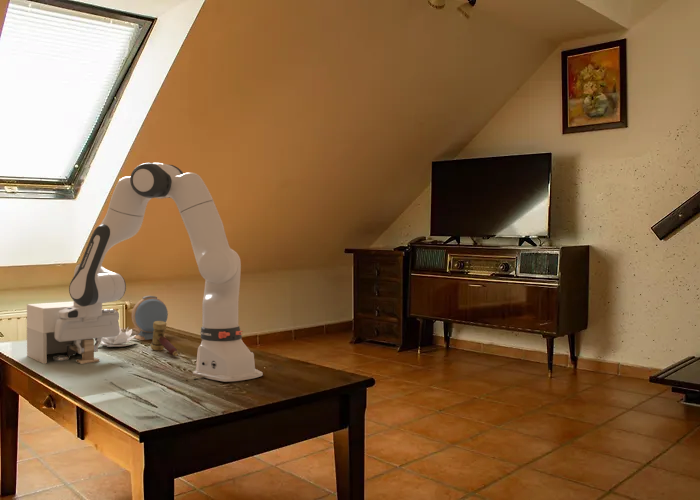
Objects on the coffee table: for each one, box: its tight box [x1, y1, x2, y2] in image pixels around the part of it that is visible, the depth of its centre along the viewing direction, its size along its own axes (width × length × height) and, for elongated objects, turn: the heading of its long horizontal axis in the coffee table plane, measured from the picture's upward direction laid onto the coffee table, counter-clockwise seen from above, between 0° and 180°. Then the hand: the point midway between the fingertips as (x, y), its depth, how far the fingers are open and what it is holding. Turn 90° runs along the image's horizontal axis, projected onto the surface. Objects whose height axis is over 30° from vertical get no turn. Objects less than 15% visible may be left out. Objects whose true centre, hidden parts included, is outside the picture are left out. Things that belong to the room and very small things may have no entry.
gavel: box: [150, 321, 179, 357], centre depth 227 cm, size 21×5×10 cm, turn 36°
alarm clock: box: [131, 295, 169, 341], centre depth 260 cm, size 14×10×18 cm
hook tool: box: [66, 338, 100, 365], centre depth 217 cm, size 19×6×8 cm, turn 42°
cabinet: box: [26, 300, 82, 365], centre depth 219 cm, size 19×16×18 cm
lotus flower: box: [99, 326, 137, 348], centre depth 240 cm, size 14×15×9 cm
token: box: [52, 354, 70, 362], centre depth 216 cm, size 5×5×1 cm
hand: (88, 352), depth 211 cm, fingers closed on hook tool, 3 cm apart
